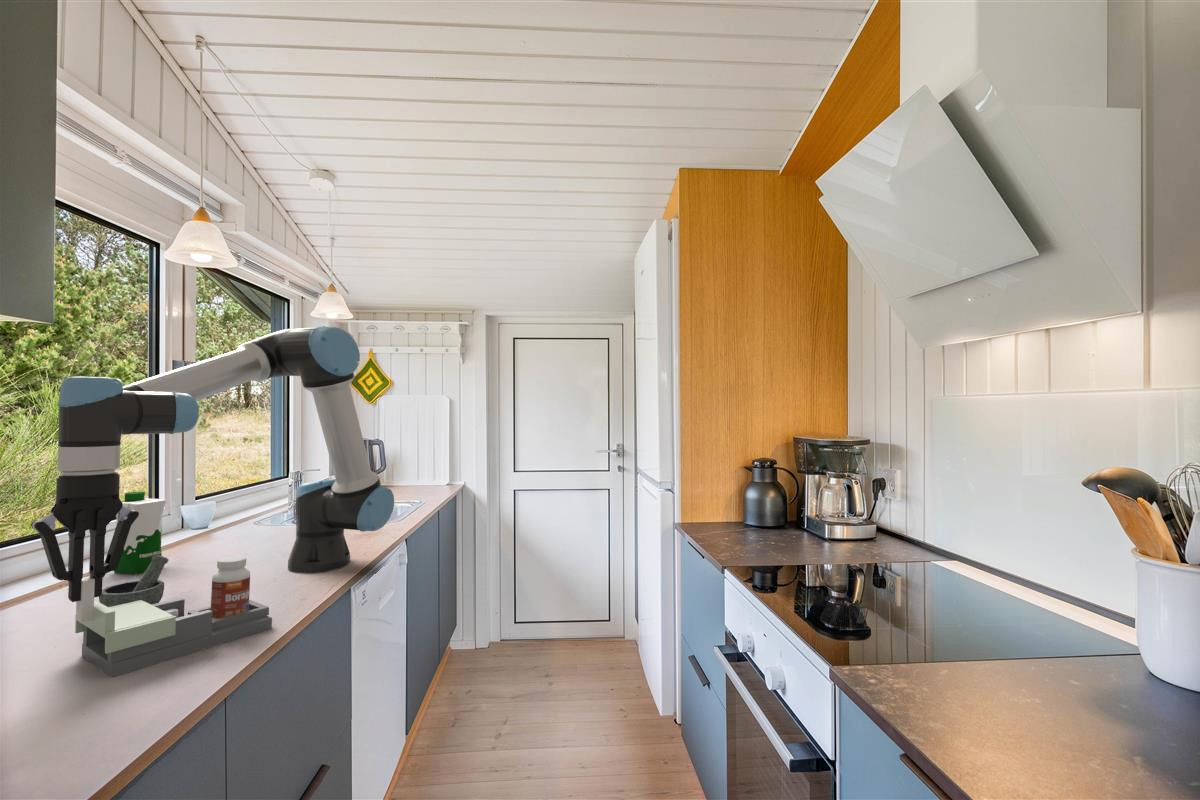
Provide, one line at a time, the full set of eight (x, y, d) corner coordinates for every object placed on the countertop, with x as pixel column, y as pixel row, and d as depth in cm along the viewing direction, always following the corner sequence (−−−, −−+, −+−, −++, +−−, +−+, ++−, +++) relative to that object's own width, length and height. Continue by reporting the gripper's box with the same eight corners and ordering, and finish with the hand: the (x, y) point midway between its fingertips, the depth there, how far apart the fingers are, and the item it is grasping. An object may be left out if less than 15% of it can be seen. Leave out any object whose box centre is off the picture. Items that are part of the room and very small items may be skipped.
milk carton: (142, 564, 150) (144, 490, 151) (169, 566, 148) (171, 491, 149) (107, 573, 142) (109, 494, 142) (134, 576, 139) (137, 496, 140)
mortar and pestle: (118, 634, 103) (120, 569, 103) (85, 628, 106) (88, 564, 106) (181, 614, 114) (183, 555, 114) (149, 608, 117) (151, 551, 117)
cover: (140, 616, 101) (141, 583, 101) (175, 634, 93) (176, 598, 93) (74, 632, 94) (76, 596, 94) (106, 653, 86) (107, 614, 86)
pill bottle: (225, 624, 103) (227, 564, 103) (202, 619, 105) (204, 560, 105) (256, 613, 109) (258, 556, 109) (234, 609, 111) (236, 553, 111)
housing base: (238, 612, 114) (239, 583, 115) (274, 627, 107) (274, 596, 107) (81, 655, 94) (82, 619, 94) (111, 677, 86) (112, 638, 87)
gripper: (130, 467, 97) (126, 603, 97) (26, 474, 86) (20, 627, 86) (147, 470, 93) (143, 612, 92) (39, 477, 82) (34, 638, 82)
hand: (84, 619), depth 89 cm, fingers closed
